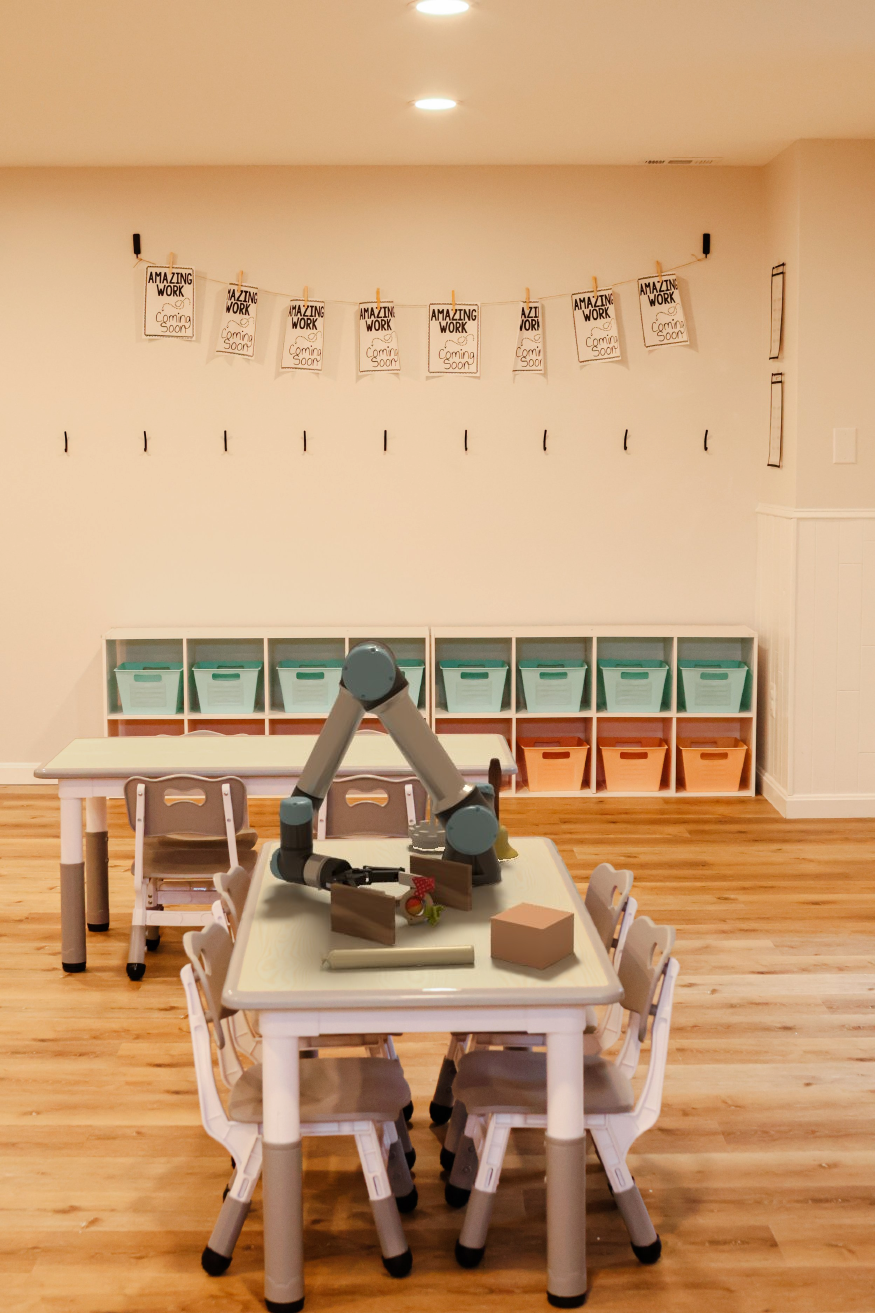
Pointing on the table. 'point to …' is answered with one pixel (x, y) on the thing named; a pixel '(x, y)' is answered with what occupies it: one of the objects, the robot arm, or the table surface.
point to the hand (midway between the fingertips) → (404, 890)
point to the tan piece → (400, 957)
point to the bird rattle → (415, 906)
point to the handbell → (501, 841)
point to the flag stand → (427, 832)
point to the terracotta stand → (532, 935)
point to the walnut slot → (397, 900)
